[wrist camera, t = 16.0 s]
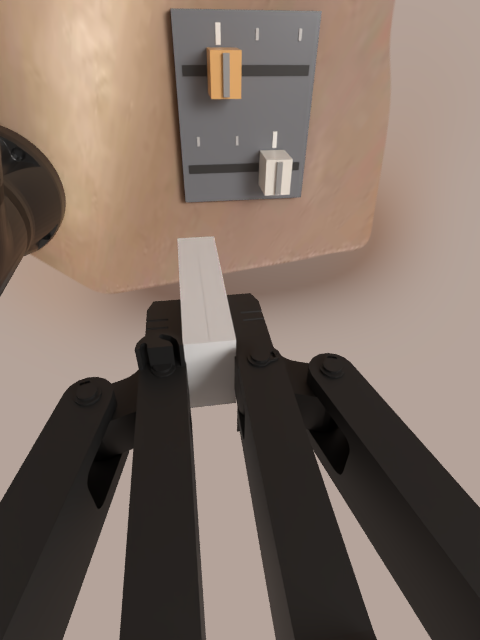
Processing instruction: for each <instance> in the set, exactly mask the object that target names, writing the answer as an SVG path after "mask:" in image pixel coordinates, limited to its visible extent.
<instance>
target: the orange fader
mask: <svg viewBox="0 0 480 640" xmlns="http://www.w3.org/2000/svg"><path fill="white" fill-rule="evenodd" d="M206 51H207V80H208V94H209V96H210V98H211V99H241V67H242V50H240V49H238V48H235V47H206Z"/></svg>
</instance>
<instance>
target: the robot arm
mask: <svg viewBox="0 0 480 640" xmlns="http://www.w3.org/2000/svg"><path fill="white" fill-rule="evenodd" d="M65 207H66V201H65V193H64V189H63V185H62V183H61V180H60V178H59V176H58V174H57V172H56V170H55V168H54V167H53V165H52V164H51V163H50V161H49V160H48V159H47V157H46V156H45V155H44V154H43V153H42V152H41V151H40V150H39V149H38V148H37V147H36V146H35V145H33V144H32V143H31V142H30V141H28V140H27V139H26V138H24V137H23V136H21V135H19V134H18V133H16V132H14V131H12V130H10V129H8V128H5V127H3V126H0V296H1V294H2V293H3V291H4V289H5V287H6V286H7V284H8V282H9V280H10V279H11V277H12V275H13V273H14V272H15V270H16V268H17V267H18V265H19V263H20V261H21V260H22V258H23V256H26V255H28V254H30V253H32V252H34V251H37V250H39V249H40V248H42V247H43V246H45V245H46V244H47V243H48V242H49V241H50V240H51V239H52V238H53V237H54V236H55V234H56V232H57V231H58V229H59V227H60V225H61V223H62V220H63V218H64V214H65ZM178 258H179V278H180V297H181V300H169V301H155V302H153V303H152V305H151V306H150V307H149V309H148V310H147V319H146V321H147V322H146V334H145V337H143V338H142V339H141V340H140V341H139V342H138V343H137V345H136V347H135V353H136V357H137V362H138V367H139V370H138V371H137V372H136V373H135V374H133V375H132V376H130V377H128V378H126V379H124V380H121V381H118V382H115V383H112V384H111V383H110V382H109V381H107V380H106V379H103V378H99V377H91V378H90V377H89V378H85V379H82V380H79V381H78V382H76V383H74V384H73V385H71V386H70V387H69V388H68V389H67V390H66V391H65V393H64V394H63V396H62V398H61V399H60V401H59V403H58V404H57V406H56V408H55V410H54V411H53V413H52V415H51V417H50V418H49V420H48V421H47V423H46V425H45V427H44V428H43V430H42V432H41V433H40V435H39V437H38V439H37V440H36V442H35V444H34V445H33V447H32V449H31V451H30V452H29V454H28V456H27V457H26V459H25V461H24V463H23V464H22V466H21V468H20V470H19V471H18V473H17V475H16V476H15V478H14V480H13V481H12V483H11V485H10V487H9V488H8V490H7V492H6V494H5V495H4V497H3V499H2V500H1V502H0V640H63V637H64V634H65V631H66V628H67V626H68V623H69V620H70V617H71V614H72V611H73V609H74V606H75V603H76V600H77V597H78V595H79V592H80V589H81V586H82V583H83V580H84V578H85V575H86V572H87V569H88V566H89V564H90V561H91V558H92V555H93V552H94V549H95V547H96V544H97V541H98V538H99V535H100V533H101V530H102V527H103V524H104V521H105V518H106V516H107V513H108V510H109V507H110V504H111V502H112V499H113V496H114V493H115V490H116V487H117V485H118V481H119V479H120V476H121V473H122V471H123V468H124V465H125V462H126V459H127V456H128V454H129V450H131V449H133V448H134V449H133V463H132V476H131V477H132V478H131V491H130V504H129V517H128V518H129V519H128V532H127V545H126V558H125V573H124V586H123V599H122V613H121V628H120V640H206V635H205V634H206V633H205V618H204V604H203V603H204V602H203V588H202V573H201V558H200V557H201V556H200V542H199V527H198V511H197V496H196V480H195V465H194V451H193V435H192V420H191V410H190V408H193V407H202V406H211V405H220V404H229V403H236V400H237V406H238V411H237V414H238V415H237V431H240V434H241V440H242V446H243V451H244V458H245V463H246V469H247V475H248V481H249V486H250V493H251V498H252V504H253V510H254V515H255V521H256V527H257V532H258V539H259V544H260V550H261V556H262V562H263V568H264V573H265V579H266V585H267V591H268V597H269V602H270V608H271V614H272V619H273V625H274V631H275V637H276V640H377V639H376V636H375V634H374V631H373V628H372V625H371V622H370V619H369V616H368V613H367V610H366V607H365V604H364V602H363V599H362V595H361V592H360V589H359V586H358V583H357V580H356V577H355V574H354V572H353V568H352V565H351V562H350V559H349V557H348V554H347V550H346V547H345V544H344V541H343V538H342V535H341V533H340V529H339V526H338V524H337V520H336V517H335V514H334V511H333V508H332V506H331V502H330V499H329V496H328V493H327V490H326V488H325V485H324V481H323V478H322V475H321V473H320V470H319V467H318V464H317V461H316V458H315V455H314V452H315V454H316V455H317V457H318V458H319V460H320V462H321V463H322V465H323V466H324V468H325V470H326V471H327V473H328V474H329V476H330V478H331V479H332V481H333V482H334V484H335V486H336V487H337V489H338V490H339V492H340V493H341V495H342V497H343V498H344V500H345V501H346V503H347V505H348V506H349V508H350V509H351V511H352V513H353V514H354V516H355V518H356V519H357V521H358V522H359V524H360V525H361V527H362V529H363V530H364V532H365V534H366V535H367V537H368V538H369V540H370V542H371V543H372V545H373V546H374V548H375V550H376V551H377V553H378V554H379V556H380V557H381V559H382V561H383V562H384V564H385V566H386V567H387V569H388V570H389V572H390V573H391V575H392V577H393V578H394V580H395V582H396V583H397V585H398V586H399V588H400V590H401V591H402V593H403V594H404V596H405V597H406V599H407V600H408V602H409V604H410V605H411V607H412V609H413V610H414V612H415V614H416V615H417V617H418V618H419V620H420V622H421V623H422V625H423V626H424V628H425V630H426V631H427V633H428V634H429V636H430V637H431V639H432V640H480V507H479V506H478V505H477V504H476V503H475V502H474V501H473V500H472V498H471V497H470V496H469V495H468V494H467V493H466V492H465V491H464V490H463V488H462V487H461V486H460V485H459V484H458V483H457V482H456V480H455V479H454V478H453V477H452V476H451V475H450V474H449V473H448V471H447V470H446V469H445V468H444V467H443V466H442V465H441V464H440V462H439V461H438V460H437V459H436V458H435V457H434V456H433V455H432V453H431V452H430V451H429V450H428V449H427V448H426V447H425V446H424V445H423V443H422V442H421V441H420V440H419V439H418V438H417V437H416V435H415V434H414V433H413V432H412V431H411V430H410V429H409V428H408V426H407V425H406V424H405V423H404V422H403V421H402V420H401V419H400V417H399V416H398V415H397V414H396V413H395V412H394V411H393V410H392V408H391V407H390V406H389V405H388V404H387V403H386V402H385V401H384V400H383V398H382V397H381V396H380V395H379V394H378V393H377V392H376V390H375V389H374V388H373V387H372V386H371V385H370V384H369V383H368V382H367V380H366V379H365V378H364V377H363V376H362V375H361V374H360V373H359V371H358V370H357V369H356V368H355V367H354V366H353V365H352V364H351V363H350V362H349V361H348V360H347V359H345V358H344V357H342V356H339V355H337V354H330V353H325V354H319V355H317V356H315V357H314V358H312V360H311V361H310V363H303V362H296V361H292V360H289V359H286V358H284V357H282V356H281V355H280V353H279V351H278V350H276V349H275V348H274V347H273V345H272V342H271V338H270V335H269V332H268V329H267V326H266V323H265V320H264V317H263V314H262V312H261V307H260V304H259V301H258V300H257V299H256V298H255V297H254V296H253V295H251V294H250V293H249V294H236V295H226V290H225V286H224V281H223V276H222V272H221V267H220V262H219V258H218V253H217V248H216V244H215V239H214V236H212V237H194V238H178ZM313 450H314V452H313Z"/></svg>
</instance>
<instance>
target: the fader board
mask: <svg viewBox="0 0 480 640" xmlns="http://www.w3.org/2000/svg"><path fill="white" fill-rule="evenodd" d="M321 12H322V11H281V10H223V9H171V22H172V35H173V47H174V60H175V73H176V86H177V99H178V111H179V124H180V137H181V150H182V162H183V175H184V188H185V200H186V202H204V201H227V200H249V199H272V198H294V197H301V191H302V182H303V173H304V164H305V155H306V146H307V137H308V128H309V119H310V110H311V101H312V92H313V83H314V75H315V66H316V57H317V48H318V39H319V30H320V21H321ZM206 47H235V48H238V49H240V50H242V67H241V99H211V98H210V96H209V94H208V80H207V51H206ZM260 150H285V151H286V152H287V153H288V154H289V156H290V157H291V158H292V159H293V163H292V173H291V184H290V195H269V196H265V195H264V193H263V192H262V190H261V188H260V186H259V184H258V182H259V158H260Z"/></svg>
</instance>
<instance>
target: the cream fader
mask: <svg viewBox="0 0 480 640" xmlns="http://www.w3.org/2000/svg"><path fill="white" fill-rule="evenodd" d="M292 163H293V159H292V158H291V157H290V156H289V154H288V153H287V152H286V151H285V150H260V158H259V182H258V184H259V186H260V188H261V190H262V192H263V193H264V195H265V196H269V195H290V184H291V173H292Z"/></svg>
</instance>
